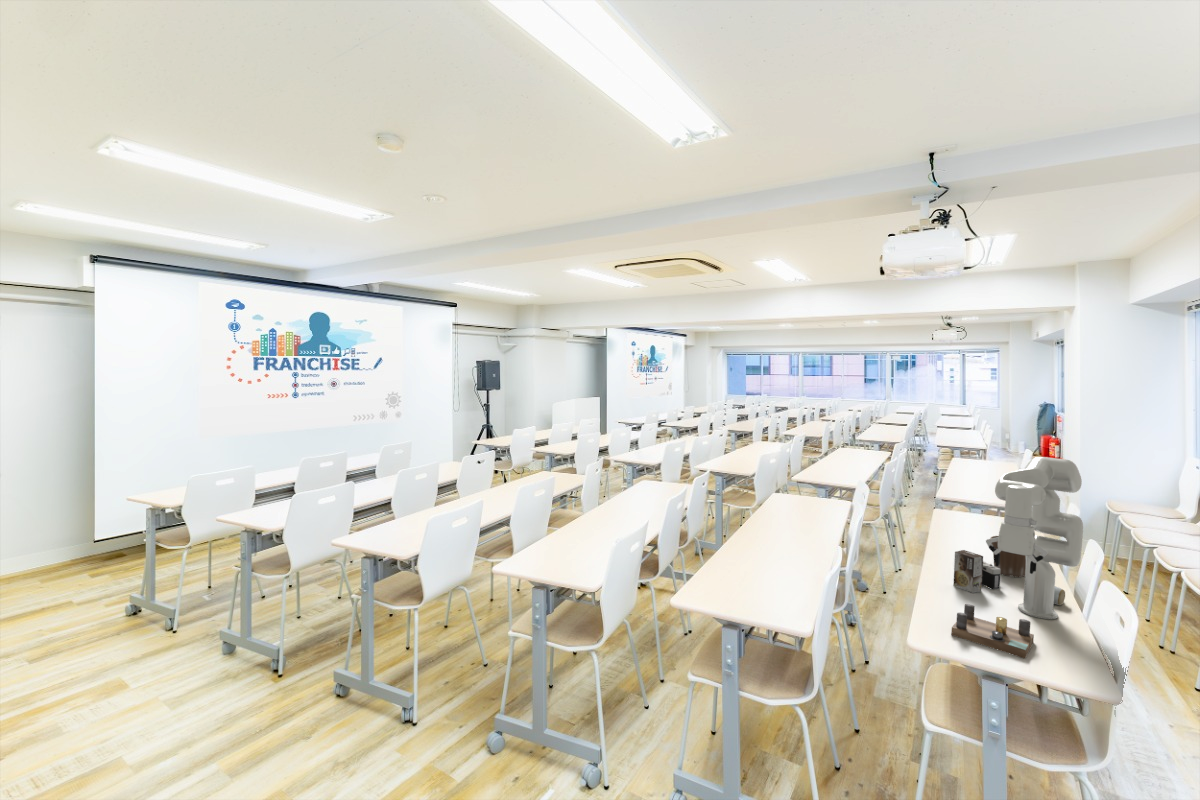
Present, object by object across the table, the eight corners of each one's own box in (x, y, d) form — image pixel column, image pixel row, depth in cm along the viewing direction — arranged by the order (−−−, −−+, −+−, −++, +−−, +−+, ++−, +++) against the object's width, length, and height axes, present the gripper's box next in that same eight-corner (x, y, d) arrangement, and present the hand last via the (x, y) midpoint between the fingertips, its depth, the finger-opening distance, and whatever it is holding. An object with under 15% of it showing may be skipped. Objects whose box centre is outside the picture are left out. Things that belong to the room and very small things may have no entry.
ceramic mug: (1059, 608, 226) (1061, 590, 226) (1035, 600, 233) (1036, 583, 232) (1067, 602, 232) (1069, 584, 232) (1044, 595, 239) (1045, 578, 238)
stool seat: (962, 621, 213) (963, 601, 213) (1033, 642, 197) (1034, 621, 197) (951, 635, 202) (952, 614, 202) (1025, 658, 186) (1026, 636, 186)
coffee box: (982, 591, 242) (984, 556, 241) (972, 593, 240) (974, 557, 239) (962, 583, 251) (964, 549, 250) (952, 585, 248) (954, 551, 247)
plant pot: (981, 569, 268) (983, 537, 267) (1000, 564, 275) (1002, 533, 274) (1017, 581, 253) (1020, 548, 252) (1037, 576, 260) (1039, 543, 259)
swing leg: (1001, 640, 192) (1002, 627, 191) (990, 637, 194) (991, 624, 194) (1007, 632, 198) (1008, 619, 198) (996, 629, 200) (997, 615, 200)
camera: (1008, 589, 244) (1008, 567, 244) (988, 589, 244) (988, 568, 244) (987, 577, 258) (987, 557, 257) (967, 577, 258) (968, 557, 258)
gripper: (1050, 524, 186) (1047, 573, 187) (989, 514, 198) (986, 559, 199) (1048, 528, 181) (1044, 578, 182) (985, 517, 193) (982, 564, 194)
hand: (1014, 568), depth 191 cm, fingers open, 9 cm apart
